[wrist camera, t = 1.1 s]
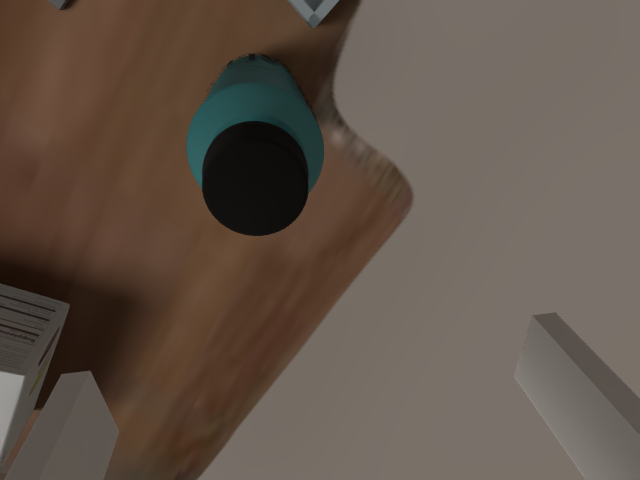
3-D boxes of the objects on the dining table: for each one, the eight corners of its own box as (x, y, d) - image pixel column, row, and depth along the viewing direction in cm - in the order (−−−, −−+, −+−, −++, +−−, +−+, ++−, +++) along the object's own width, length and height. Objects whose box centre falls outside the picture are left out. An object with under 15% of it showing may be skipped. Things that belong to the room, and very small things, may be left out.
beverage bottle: (252, 151, 34) (246, 299, 16) (196, 83, 30) (117, 179, 13) (315, 104, 32) (380, 210, 15) (263, 28, 29) (272, 55, 12)
